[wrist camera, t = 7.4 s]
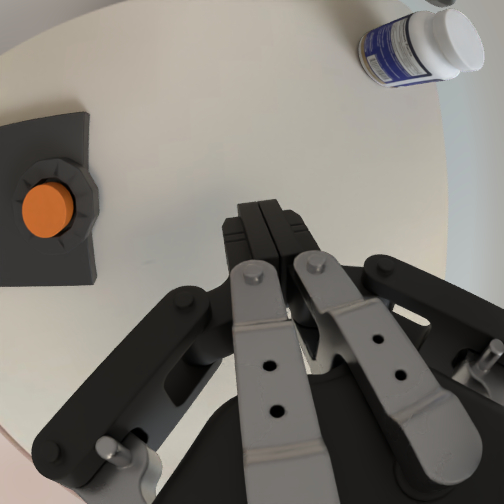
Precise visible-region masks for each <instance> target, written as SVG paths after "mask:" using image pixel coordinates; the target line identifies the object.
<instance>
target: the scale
mask: <svg viewBox="0 0 504 504" xmlns="http://www.w3.org/2000/svg"><path fill="white" fill-rule="evenodd" d="M89 116H90V115H89V114H88V113H86V112H77V113H69V114H62V115H55V116H49V117H43V118H38V119H32V120H27V121H22V122H18V123H13V124H9V125H4V126H0V287H26V286H78V285H94V283H95V281H96V279H97V274H96V266H95V259H94V250H93V241H92V228H93V226H94V224H95V221H96V219H97V217H98V215H99V196H98V187H97V185H96V184H95V182H94V180H93V179H92V177H91V175H90V173H89V172H88V141H89ZM47 182H57V183H60V184H62V185H63V186H64V187H66V188H67V190H68V191H69V192H70V194H71V197H72V200H73V206H74V209H73V215H72V218H71V220H70V222H69V223H68V225H67V226H66V227H65V228H63V229H62V230H61V231H60V232H58V233H57V234H56V235H54V236H52V237H49V238H42V237H38V236H36V235H34V234H33V233H32V232H30V230H29V229H28V228H27V226H26V225H25V222H24V220H23V215H22V206H23V202H24V199H25V197H26V195H27V193H28V192H29V191H30V190H31V189H32V188H34V187H35V186H38V185H41V184H44V183H47Z"/></svg>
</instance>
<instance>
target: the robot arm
mask: <svg viewBox="0 0 504 504" xmlns="http://www.w3.org/2000/svg"><path fill="white" fill-rule="evenodd" d="M237 208H238V217H233V218H226V220H225V222H224V223H223V225H222V230H223V238H224V245H225V253H226V259H227V265H228V270H229V277H228V278H227V280H226V281H225V282H224V283H223V284H222V285H221V286H219V287H217V288H215V289H213V290H211V291H208V292H206V291H205V290H203V289H202V288H199V287H196V286H182V287H178V288H176V289H174V290H172V291H170V292H169V293H168V294H167V295H165V297H164V298H163V299H162V300H161V301H160V302H159V303H158V304H157V305H156V306H155V307H154V308H153V309H152V310H151V311H150V312H149V313H148V314H147V315H146V316H145V317H144V318H143V319H142V320H141V321H140V323H139V324H138V325H137V326H136V327H135V328H134V329H133V330H132V331H131V332H130V333H129V334H128V335H127V336H126V337H125V338H124V339H123V341H122V342H121V343H120V344H119V345H118V346H117V347H116V348H115V349H114V350H113V351H112V352H111V353H110V354H109V356H108V357H107V358H106V359H105V360H104V361H103V362H102V363H101V364H100V365H99V366H98V367H97V369H96V370H95V371H94V372H93V373H92V374H91V375H90V376H89V377H88V378H87V379H86V381H85V382H84V383H83V384H82V385H81V386H80V387H79V388H78V389H77V391H76V392H75V393H74V394H73V395H72V396H71V397H70V398H69V399H68V401H67V402H66V403H65V404H64V405H63V406H62V407H61V409H60V410H59V411H58V412H57V413H56V414H55V415H54V416H53V418H52V419H51V420H50V421H49V422H48V423H47V425H46V426H45V427H44V428H43V429H42V430H41V431H40V433H39V434H38V435H37V436H36V438H35V440H34V442H33V445H32V452H31V454H32V460H33V463H34V466H35V467H36V469H37V470H38V471H39V473H40V474H42V475H43V476H45V477H46V478H48V479H50V480H53V481H55V482H57V483H60V484H61V485H63V486H65V487H67V488H69V489H72V490H73V491H75V492H76V493H77V494H78V495H79V496H80V497H81V498H82V499H83V500H84V501H85V502H86V503H87V504H504V309H502V308H500V307H498V306H496V305H494V304H492V303H490V302H488V301H486V300H484V299H482V298H480V297H478V296H476V295H474V294H472V293H470V292H467V291H466V290H464V289H461V288H459V287H457V286H455V285H453V284H451V283H449V282H447V281H445V280H442V279H440V278H438V277H436V276H434V275H432V274H429V273H427V272H425V271H423V270H421V269H418V268H416V267H414V266H412V265H409V264H407V263H405V262H403V261H400V260H398V259H396V258H394V257H391V256H388V255H382V254H378V255H372V256H370V257H368V258H367V259H366V261H365V263H364V267H353V266H343V265H340V264H339V263H338V261H337V260H336V259H335V258H334V257H333V256H332V255H330V254H329V253H326V252H323V251H321V250H320V248H319V246H318V245H317V243H316V241H315V240H314V238H313V236H312V235H311V233H310V231H308V228H307V226H306V225H305V224H304V221H303V220H302V218H301V216H300V215H298V214H297V213H295V212H294V211H292V210H283V211H282V209H281V207H280V205H279V203H278V201H277V200H276V199H272V200H264V201H257V202H249V203H242V204H238V205H237ZM395 304H397V305H399V306H401V307H403V308H405V309H407V310H409V311H412V312H414V313H416V314H418V315H420V316H422V317H424V318H426V319H427V320H428V321H429V322H430V325H428V326H422V325H419V324H417V323H415V322H413V321H411V320H409V319H407V318H405V317H403V316H401V315H399V314H397V313H395V312H393V311H392V310H393V308H394V305H395ZM288 307H289V309H290V311H291V319H288V316H287V311H286V308H288ZM299 344H300V345H299ZM300 346H301V348H302V351H303V353H304V355H305V357H306V359H307V362H308V364H309V366H310V369H311V373H312V374H307V373H306V369H305V365H304V361H303V357H302V353H301V349H300ZM233 353H234V358H235V371H236V382H237V394H238V395H237V396H235V397H233V398H231V399H230V400H228V401H227V402H226V403H224V404H223V405H222V406H220V407H219V408H218V409H217V410H216V411H215V412H214V413H213V415H212V416H211V417H210V418H209V420H208V421H207V422H206V424H205V425H204V427H203V429H202V430H201V432H200V433H199V435H198V436H197V438H196V439H195V441H194V442H193V444H192V445H191V447H190V448H189V450H188V451H187V453H186V454H185V456H184V457H183V459H182V460H181V462H180V463H179V465H178V466H177V468H176V469H175V471H174V472H173V474H172V475H171V477H170V478H169V479H168V481H167V482H166V484H165V485H164V487H163V488H162V489H161V491H160V492H159V494H158V495H157V496H156V492H155V491H156V485H157V482H158V481H159V479H160V477H161V474H162V462H161V459H160V457H159V456H158V454H157V453H156V451H157V450H158V449H159V447H160V446H161V445H162V443H163V442H164V441H165V439H166V438H167V437H168V435H169V434H170V433H171V431H172V430H173V429H174V428H175V426H176V425H177V424H178V422H179V421H180V419H181V418H182V417H183V415H184V414H185V413H186V411H187V410H188V409H189V407H190V406H191V405H192V403H193V402H194V401H195V399H196V398H197V396H198V395H199V394H200V392H201V391H202V390H203V388H204V387H205V385H206V384H207V383H208V381H209V380H210V378H211V377H212V376H213V374H214V373H215V371H216V370H217V369H218V367H219V366H220V364H221V362H222V358H225V357H227V356H229V355H231V354H233Z"/></svg>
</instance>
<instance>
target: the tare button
mask: <svg viewBox="0 0 504 504" xmlns="http://www.w3.org/2000/svg"><path fill="white" fill-rule="evenodd" d="M73 209H74V206H73V200H72V197H71V194H70V192H69V191H68V190H67V188H66V187H64V186H63V185H62V184H60V183H57V182H47V183H44V184H41V185H38V186H35V187H34V188H32V189H31V190H30V191H29V192H28V193H27V195H26V197H25V199H24V202H23V206H22V215H23V220H24V222H25V225H26V226H27V228H28V229H29V230H30V232H32V233H33V234H34V235H36V236H38V237H42V238H49V237H52V236H54V235H56V234H57V233H58V232H60V231H61V230H62V229H63V228H65V227H66V226H67V225H68V223H69V222H70V220H71V218H72V215H73Z"/></svg>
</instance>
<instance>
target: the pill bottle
mask: <svg viewBox="0 0 504 504" xmlns="http://www.w3.org/2000/svg"><path fill="white" fill-rule="evenodd" d="M359 57H360V61H361V63H362V65H363V67H364V69H365V71H366V72H367V74H368V75H369V76H370V77H371V78H372V79H373V80H374V81H375V82H377V83H378V84H380V85H382V86H385V87H388V88H398V87H404V86H409V85H416V84H422V83H429V82H437V81H445V80H450V79H453V78H455V77H456V76H457V75H458V74H459V73H460V72H461V71H462V72H470V71H477V70H480V69H481V68H482V66H483V64H484V49H483V45H482V42H481V39H480V37H479V34H478V32H477V30H476V29H475V27H474V26H473V24H472V23H471V22H470V20H469V19H468V18H467V17H466V16H465V15H464V14H463V13H462V12H460V11H458V10H456V9H446V10H443V11H440V12H438V13H436V14H434V13H432V12H429V11H419V12H415V13H412V14H410V15H407V16H404V17H402V18H399V19H397V20H394V21H392V22H390V23H387V24H385V25H383V26H380V27H378V28H376V29H374V30H371V31H369V32H367V33H366V34H365V35H364V36H363V37H362V38H361V40H360V43H359Z"/></svg>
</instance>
